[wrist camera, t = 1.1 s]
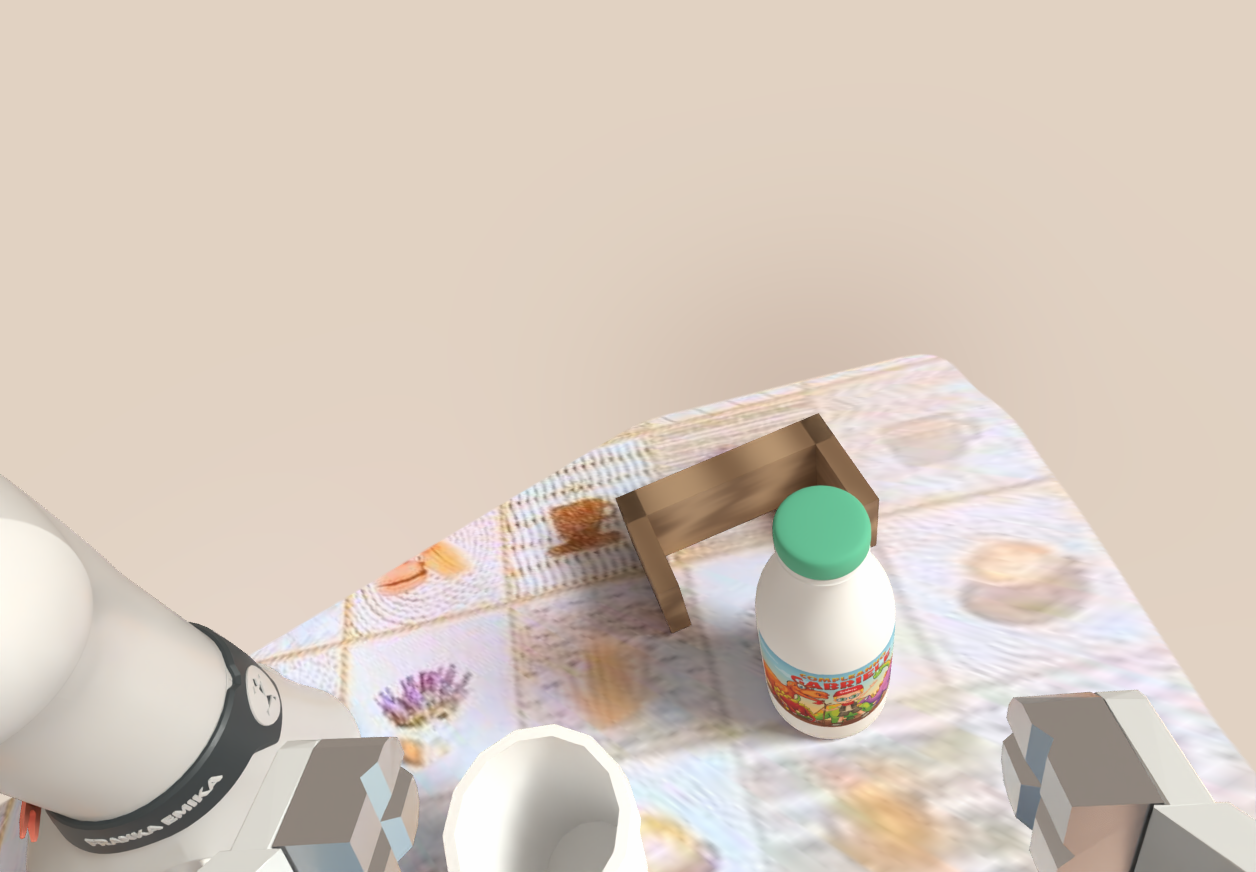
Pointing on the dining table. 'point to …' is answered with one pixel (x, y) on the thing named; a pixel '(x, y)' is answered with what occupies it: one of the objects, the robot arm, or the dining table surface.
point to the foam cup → (544, 808)
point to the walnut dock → (733, 498)
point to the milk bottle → (825, 615)
